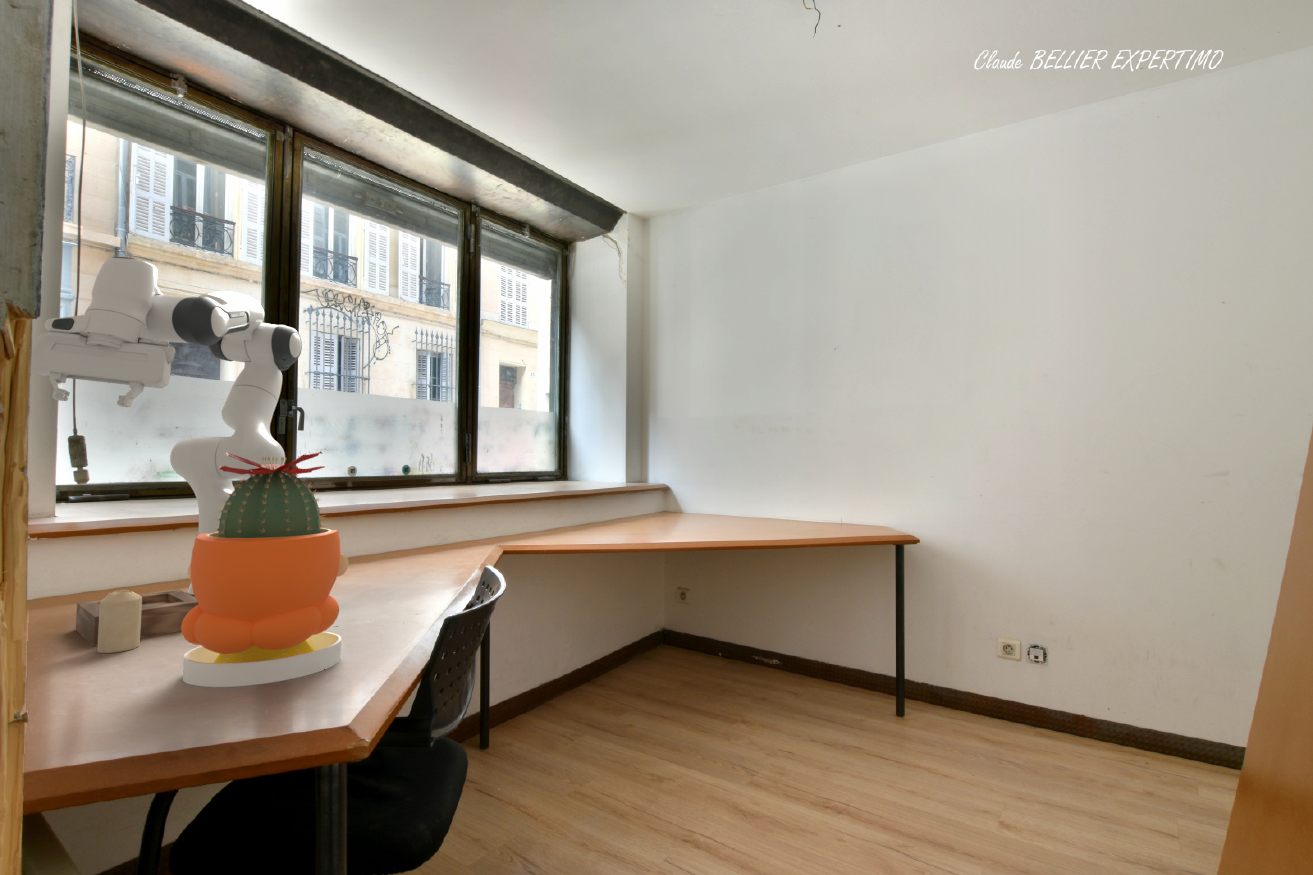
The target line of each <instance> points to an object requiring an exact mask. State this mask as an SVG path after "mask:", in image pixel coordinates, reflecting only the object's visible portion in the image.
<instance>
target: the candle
mask: <svg viewBox="0 0 1313 875" xmlns="http://www.w3.org/2000/svg"><path fill="white" fill-rule="evenodd" d="M140 595H141V594H139V593H136V592H134V591H132V590H128V589H121V590H114V591H112V592H108V594H107V595H105V597H104V598H102V599H100V600H101V601H100V611H99V629H98V645H97V648H96V649H97V653H100V654H111V653H112V654H113V653H114V654H115V653H121V652H126V651H129V650H134V649H136V648H139V646H140V644H141V643H140V642H141V641H140V640H141V638H140V627H141V608H142V597H141V596H140Z"/></svg>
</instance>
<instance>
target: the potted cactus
mask: <svg viewBox="0 0 1313 875" xmlns="http://www.w3.org/2000/svg"><path fill="white" fill-rule="evenodd" d="M320 454H321V455H323V452H322V451H315V452H311V453H309V454H302V455H300V456H299V457H297V458H296V459H295V460H293V461H291V462H288V463H286V461H287V457H285V463H284V464H282V463H281V464H277V457H276V464H271V462H270V464H266V457H265V464H266V465H264V464H263V465H260V464H258V463H255V462H253V461H250V460H247V459H244V458H242V457H239V456H236V455H233V454H230V453H228V452H226V455H227V456H230V457H232V458H235V459H237V460H240V461H242V462H245V463H247V464H250V465H254V466H257V467H259V468H256V469H249V470H245V469H238V468H231V467H227V466H224V467H223V466H222V467H221V466H219V469H220V470H223V471H226V472H233V473H237V474H242V475H243V474H250V475H251V474H252V475H251V476H250V475H249V476H250V478H249V479H248V478H247V480H246V478H244V479H245V480H243V479H242V480H240V479H239V480H238V484H237V482H234V485H233V487H234V489H235V490H233V491H232V493H230V497H229V498H228V500H225V501H224V500H223V501H224V502H223V503H226V504H225V506H224V508H223V510H221V509H220V508H219V509H220V510H219V511H220V512H222V514H221V517H220V518H218V519H213V520H216V521H220V523H219V529H217V528H215V529H213V530H216V531H219V532H215V531H214V532H215V533H210V534H207V533H202V534H200V535H198V534H197V535H198V536H197V535H196V536H197V537H196V536H195V539H194V543H193V547H192V550H191V558H190V564H189V566H188V568H187V577H188V579H189V580H190V581H191V582H190V584H191V583H192V589H193V593H194V595H193V596H194V597H196V600H197V602H198V604H199V605H197V606H195V607H194V608H193V609H191V610H190V611H189V612H188V613H187V615H186V616H185V618H184V619H183V621H182V625H181V631H180V632H181V635H182V637H183V638H184V640H186V641H187V642H188V643H189V644H192V645H195V646H197V647H195V648H192V649H190V650H188V651H186V653H184V655H183V666H182V668H183V669H182V681H183V683H186V684H188V685H191V686H197V687H203V688H205V687H206V688H229V687H234V688H235V687H247V686H254V685H264V684H271V683H278V682H282V681H283V682H284V681H288V680H292V679H298V678H301V677H302V678H303V677H306V676H308V675H312V674H316V673H319V672H322V671H324V669H325V670H327V669H329V668H332V667H334V666H335V665H337V664H338V663H339V662H340V661H341V659H342V658H341V657H342V636H341V635H339V634H337V633H334V632H329V631H327V630H328V629H329V628H330V627H332V626H333V625H334V623H335V622H336V620H337V619H338V617H339V614H340V613H339V612H340V605H339V603H338V601H337V600H336V599H335V598H334V597H333V596H331V595H330V593H331V592H332V589H333V587H334V584H335V583H336V581H337V578H338V577H341V576H343V575H345V573H346V572H347V570H348V568H349V559H348V557H347V556H346V554H344V553H341V540H340V534H339V530H338V529H329V528H326V527H327V526H326V523H325V524H324V523H323V524H321V520H322V519H323V520H324V519H325V518H327V517H324V516H325V514H324V515H321V514H320V513H321V512H320V511H324V510H325V509H324V506H323V507H322V506H320V507H319V504H318V502H319V501H321V500H322V499H321V498H320V497H317V498H316V496H315V495H316V494H318V491H317V489H315V490H312V487H313V485H312V482H309V483H308V485H307V483H306V482H307V476H302V477H301V478H299V476H300V475H302V474H309V473H312V472H314V471H317V470H321V469H324V468H326V466H322V465H321V466H315V467H314V466H313V467H309V468H300V467H298V466H297V465H298V464H299V463H302V462H305V461H308V460H310V459H314V458H316V457H318V456H319V455H320ZM263 459H264V457H263V458H262V460H263ZM268 460H269V461H270V457H268ZM272 460H274V457H273V458H272ZM282 460H283V461H284V457H283V458H281V461H282ZM283 461H282V462H283ZM295 465H296V466H295ZM293 466H295V467H293ZM291 467H293V468H291ZM242 478H243V477H242ZM239 481H240V482H241V483H240V482H239ZM310 488H311V489H310ZM228 490H229V489H228ZM316 491H317V492H316ZM229 492H230V490H229ZM227 493H228V492H227ZM224 494H225V493H224ZM227 495H229V494H227ZM224 499H225V498H224ZM221 500H222V499H221ZM221 500H220V501H221ZM215 511H217V510H215ZM216 513H217V512H216ZM214 517H215V516H214ZM216 518H217V517H216ZM212 528H213V527H212ZM213 530H212V531H213Z"/></svg>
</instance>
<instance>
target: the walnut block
mask: <svg viewBox="0 0 1313 875" xmlns="http://www.w3.org/2000/svg"><path fill="white" fill-rule="evenodd" d="M139 595H140V596H141V597H142V608H141V627H140V639H141V638H147V637H153V636H157V635H158V636H159V635H165V634H171V633H176V632H181V625H182V621H183V619H184V618H185V616H186V615H187V613H188V612H189V611H190V610H191V609H193V608H194V607H195V606H197V605H199V604H198V602H197V600H196V597H195V595H192V594H188V593H187V592H185V591H184V590H181V589H174V590H168V591H167V590H166V591H158V592H153V593H152V592H151V593H145V594H139ZM101 600H102V599H99V600H90V601H83V602H82V601H81V602H76V613H75V614H76V618H75V631H76V632H78V634H80V635H81V636H82V637H83V638H84V639H85V640H86V641H87V642H89V643H90V644H91V645H92V646H93V647H95V646H98V629H99V611H100V601H101Z"/></svg>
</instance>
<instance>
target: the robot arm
mask: <svg viewBox="0 0 1313 875" xmlns="http://www.w3.org/2000/svg"><path fill="white" fill-rule="evenodd" d="M157 283H158V268H157V267H156V266H155V265H153V264H152V263H150V262H149V261H146V260H143V259H138V258H134V257H128V256H111V257H108V258H107V259H106V260H105V261H104V263H103V264H102V266H101V267H100V269H99V271H98V273H97V276H96V279H95V281H94V284H93V287H92V291H91V297H92V298H91V303H90V304H89V306H88V307H87V308H86V310H85V312H84V314H81V315H73V316H65V317H54V318H53V317H52V318H48V319H47V320H45V322H44V328H45V330H46V331H45V332H42V333H41V334H40V335H38V336H37V338H36V339H35V340H34V342H33V345H32V346H33V349H32V369H30V370H31V372H34V373H36V374H37V375H39V376H45V377H49V378H48V379H49V381H50V384H51V385H52V388H53V392H52V396H51V397H52V399H54V401H62V402H67V401H68V400H69V397H70V394H71V393H70V392H69V391H67V390H66V389H64V387H63V384H66V382H67V379H72V380H80V381H90V382H97V383H99V382H100V383H107V384H108V383H109V384H117V385H126V386H127V385H128V386H129V388H130V390H129V391H128V392H126V393H125V394H124V395H123V394H122V395H120V394H119V395H118V398H117V399H118V400H116V402H117V403H116V405H117V406H119V407H123V408H131V407H132V404H133V401H134V400H135V399H136V398H137V397H138V396H139V395H141V394H142V393H143V392H144V388H153V389H155V388H156V389H164V388H165V387H167V386H168V385H169V383H170V378H171V369H172V362H173V361H174V360H175V356H176V352H177V351H176V348H175V346H174V345H172V344H170V343H178V344H179V343H180V344H191V345H198V346H208V349H209V351H210V352H211V354H212V355H213V356H214V357H215V358H217V359H219V360H223V361H225V362H239V363H244V365H243V366H244V367H243V368H242V370H241V371H240V373H239V374H238V376H237V377H236V379H235V380H234V381H233V385H232V387H231V389H230V391H229V393H228V395H227V397H226V400H225V402H224V404H223V407H222V410H221V418H222V420H223V422H224V424H226V425H227V426H228V427H229V428H231V429H232V430H234V432H233V434H232V435H231V436H196V437H195V436H194V437H190V438H184V439H182V440H179V441H178V442H176V444H175V445H174V446H173V448H172V449H171V451H170V455H169V462H170V466H171V467H172V469H173V471H174V472H175V473H176V474H177V475H178V476H180V478H181V477H182V478H183V480H185V481H186V482H187V483H188V485H189V486H190V487H191V489H192V491H193V493H194V496H195V498H196V501H197V505H198V534H196V536H195V538H196V537H197V536H198V535H200V534H202V533H207V534H210V533H215V532H219V531H216V530H213V529H215V528H217V529H219V523H220V521H216V520H213V519H218V518H220V517H221V514H222V512H220V511H219V510H220V509H221V510H223V508H224V506H225V504H226V503H223V502H224V501H225V500H228V498H229V497H230V493H232V491H233V490H235V489H236V488H234V487H235V486H234V484H233V480H236V481H239V479H240V481H242V479H243V480H245V479H244V478H246V480H247V478H248V479H249V478H250V476H251V475H252V474H251V475H250V474H243V475H242V474H237V473H233V472H226V471H223V470H220V469H219V466H221V467H222V466H223V467H224V466H227V467H231V468H238V469H245V470H249V469H256V468H259V467H257V466H254V465H250V464H247V463H245V462H242V461H240V460H237V459H235V458H232V457H230V456H227V455H226V452H228V453H230V454H233V455H236V456H239V457H242V458H244V459H247V460H250V461H253V462H255V463H258V464H260V465H263V464H264V465H266V464H270V462H271V464H276V457H277V464H281V463H282V464H284V465H285V464H286V463H285V458H286V452H285V451H284V448H283V447H282V445H281V444H280V443H279V442H278V441H277V440H275V439H274V437H273V436H272V434H271V423H272V420H273V416H274V412H275V410H276V407H277V404H278V402H279V398H280V395H281V392H282V385H283V374H282V373H283V371H287V370H288V369H289V368H290V367H291V366H292V365H293V364H294V363H295V362H297V360H298V359H299V358H300V356H301V354H302V349H303V348H302V347H303V343H302V338H301V335H300V334H299V332H298V331H297V330H296V328H294V327H291V326H287V325H285V324H271V323H266V322H264V318H265V311H264V308H263V307H262V305H261V303H260V302H259V301H258V300H256V299H255V298H254V297H253V296H252V297H251V296H249V295H246V294H243V293H239V292H235V291H226V290H223V291H210V292H209V291H208V292H206V293H203V294H201V295H199V296H183V295H170V294H169V295H166V294H163V293H162V292H161V290H160V288H159V287H158V285H157ZM263 457H264V459H263V460H262V458H263ZM265 457H266V464H265ZM268 457H270V461H269V460H268ZM273 457H274V460H272V458H273ZM283 457H284V461H283V460H282V461H283V462H282V461H281V458H283ZM249 475H250V476H249ZM242 477H243V478H242ZM233 486H234V487H233ZM228 489H229V490H230V492H229V490H228ZM227 492H228V493H227ZM224 493H225V494H224ZM227 494H229V495H227ZM224 498H225V499H224ZM221 499H222V500H221ZM220 500H221V501H220ZM223 500H224V501H223ZM219 508H220V509H219ZM215 510H217V511H215ZM216 512H217V513H216ZM214 516H215V517H214ZM216 517H217V518H216ZM212 527H213V528H212ZM212 530H213V531H212ZM214 531H215V532H214ZM186 593H187V594H190V595H192V596H195V595H194V593H193V589H192V583H191V582H190V584H189V588H188V589H187V592H186Z"/></svg>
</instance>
